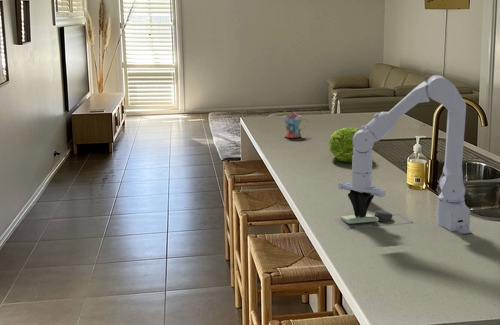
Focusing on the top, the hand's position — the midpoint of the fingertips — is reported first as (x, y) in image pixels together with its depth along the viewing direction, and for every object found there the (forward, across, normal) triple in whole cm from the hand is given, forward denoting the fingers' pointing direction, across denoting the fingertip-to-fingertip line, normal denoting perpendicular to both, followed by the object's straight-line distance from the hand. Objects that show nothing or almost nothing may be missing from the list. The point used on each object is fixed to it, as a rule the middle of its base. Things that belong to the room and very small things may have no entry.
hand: (360, 216), depth 191 cm
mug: (+3, +96, -98) cm, 137 cm away
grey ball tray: (+3, -4, -2) cm, 5 cm away
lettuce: (+3, +50, -72) cm, 88 cm away
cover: (+1, 0, +1) cm, 1 cm away
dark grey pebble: (+2, -5, -5) cm, 7 cm away
